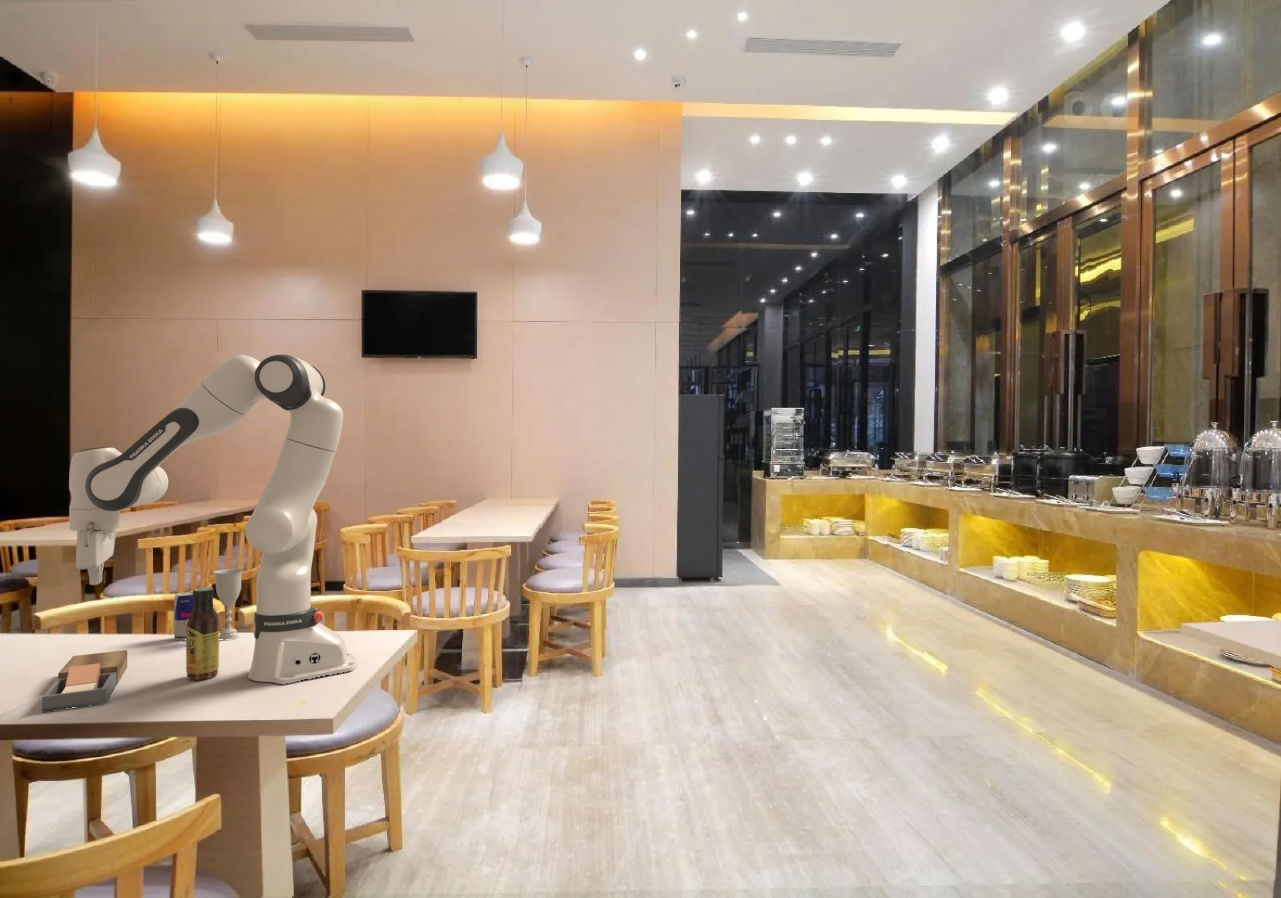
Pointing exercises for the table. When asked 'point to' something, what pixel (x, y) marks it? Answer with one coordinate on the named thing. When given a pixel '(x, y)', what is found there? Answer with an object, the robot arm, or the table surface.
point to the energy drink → (182, 614)
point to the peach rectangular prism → (83, 674)
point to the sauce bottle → (202, 637)
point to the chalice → (228, 596)
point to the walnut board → (107, 661)
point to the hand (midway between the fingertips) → (95, 583)
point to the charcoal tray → (78, 694)
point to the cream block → (80, 687)
